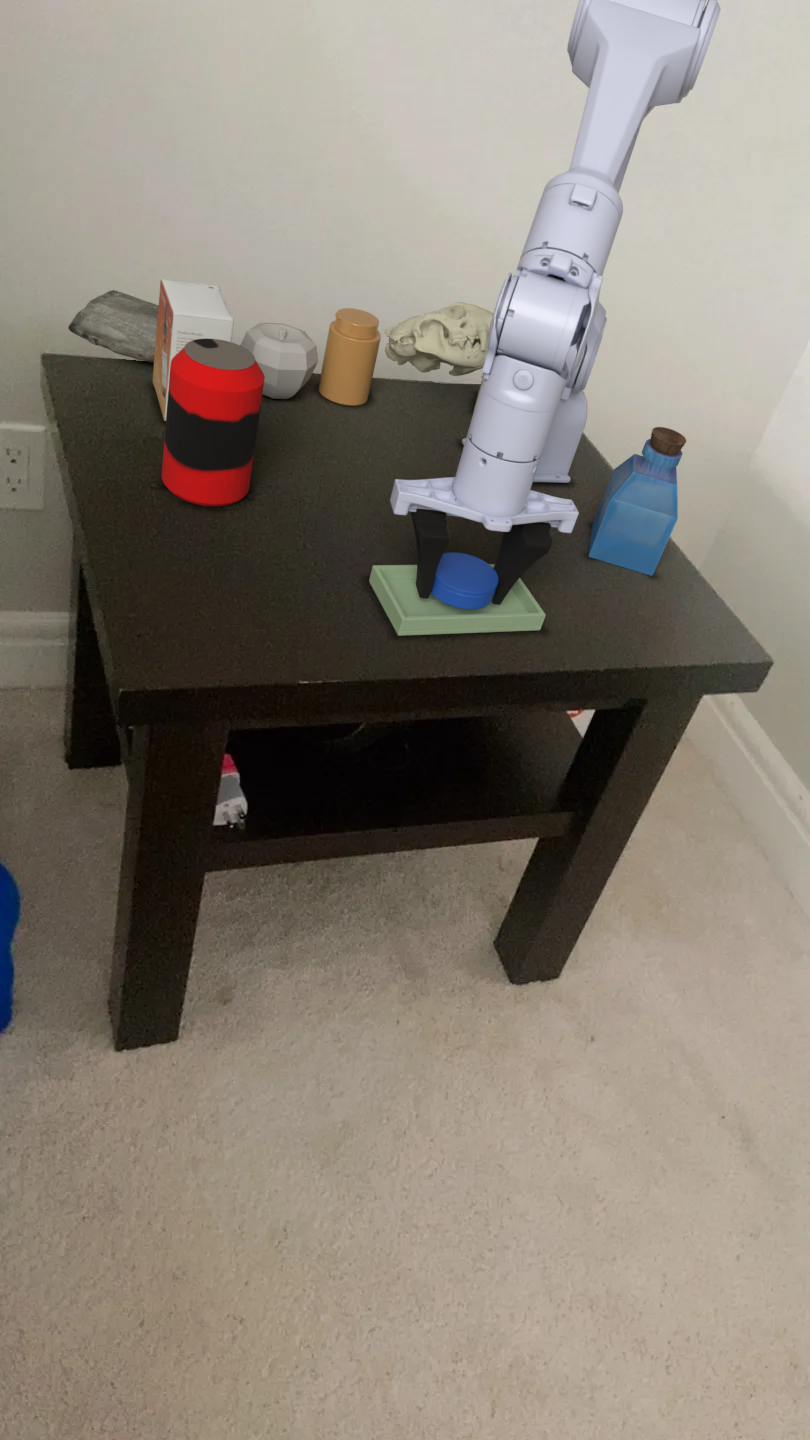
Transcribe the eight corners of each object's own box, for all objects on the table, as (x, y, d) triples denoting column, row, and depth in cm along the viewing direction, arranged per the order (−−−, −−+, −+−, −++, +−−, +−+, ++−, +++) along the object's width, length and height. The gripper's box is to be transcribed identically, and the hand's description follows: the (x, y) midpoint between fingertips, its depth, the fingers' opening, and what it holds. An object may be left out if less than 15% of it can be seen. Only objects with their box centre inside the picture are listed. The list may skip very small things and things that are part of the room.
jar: (356, 382, 115) (371, 307, 110) (375, 406, 112) (392, 329, 107) (311, 381, 113) (324, 304, 108) (329, 405, 110) (343, 326, 104)
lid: (421, 599, 83) (426, 581, 82) (428, 562, 87) (433, 545, 86) (491, 616, 83) (497, 599, 82) (494, 579, 88) (500, 562, 87)
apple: (327, 401, 110) (338, 340, 105) (272, 415, 104) (281, 352, 100) (275, 369, 113) (284, 308, 109) (219, 381, 108) (226, 318, 103)
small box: (151, 383, 104) (159, 276, 98) (208, 387, 106) (219, 283, 100) (162, 422, 99) (171, 312, 92) (221, 426, 101) (234, 318, 94)
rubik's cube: (521, 424, 116) (536, 377, 113) (473, 411, 116) (487, 363, 113) (524, 405, 121) (538, 359, 117) (478, 392, 120) (491, 346, 117)
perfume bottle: (652, 575, 98) (703, 460, 90) (588, 556, 98) (634, 439, 90) (652, 544, 102) (702, 431, 95) (592, 525, 102) (636, 412, 95)
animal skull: (366, 377, 118) (370, 309, 118) (417, 400, 125) (421, 335, 125) (471, 350, 108) (475, 275, 108) (520, 376, 115) (525, 306, 115)
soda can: (216, 457, 96) (231, 329, 88) (265, 498, 93) (285, 369, 85) (144, 471, 91) (153, 338, 84) (193, 515, 88) (207, 380, 80)
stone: (243, 358, 113) (118, 321, 115) (246, 320, 111) (119, 284, 113) (196, 386, 104) (63, 347, 107) (198, 346, 102) (62, 307, 104)
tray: (505, 579, 91) (510, 563, 90) (540, 630, 87) (546, 614, 86) (368, 581, 86) (372, 565, 85) (397, 635, 82) (402, 619, 81)
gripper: (420, 458, 72) (380, 616, 81) (611, 482, 76) (553, 630, 85) (403, 411, 77) (366, 565, 86) (582, 436, 81) (530, 580, 90)
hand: (458, 594), depth 86 cm, fingers closed on lid, 6 cm apart
